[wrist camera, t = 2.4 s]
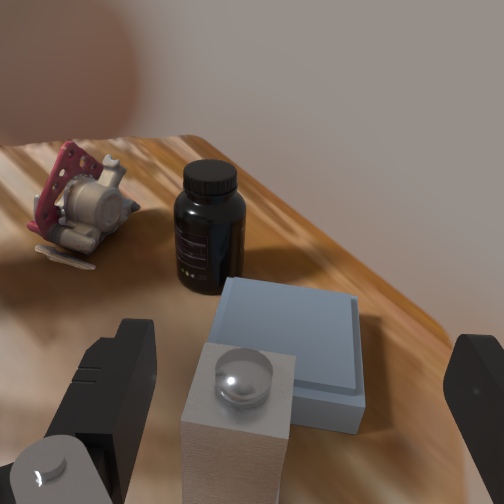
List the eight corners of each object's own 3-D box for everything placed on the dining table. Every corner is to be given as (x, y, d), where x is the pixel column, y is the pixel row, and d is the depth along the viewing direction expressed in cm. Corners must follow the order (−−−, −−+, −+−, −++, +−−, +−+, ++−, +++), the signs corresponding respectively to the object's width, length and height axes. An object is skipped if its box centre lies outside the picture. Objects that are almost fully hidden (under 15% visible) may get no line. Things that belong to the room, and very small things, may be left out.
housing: (272, 556, 26) (300, 433, 19) (174, 537, 27) (168, 410, 20) (281, 462, 31) (306, 336, 24) (198, 448, 32) (199, 319, 25)
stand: (356, 434, 33) (368, 400, 31) (195, 407, 34) (195, 372, 32) (350, 322, 43) (359, 289, 41) (225, 303, 44) (227, 270, 42)
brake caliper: (67, 182, 57) (107, 118, 49) (130, 246, 58) (179, 193, 50) (-10, 224, 48) (24, 154, 40) (67, 298, 49) (114, 244, 42)
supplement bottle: (205, 248, 51) (206, 147, 44) (254, 272, 48) (264, 168, 41) (161, 278, 46) (156, 169, 40) (214, 306, 44) (217, 195, 37)
